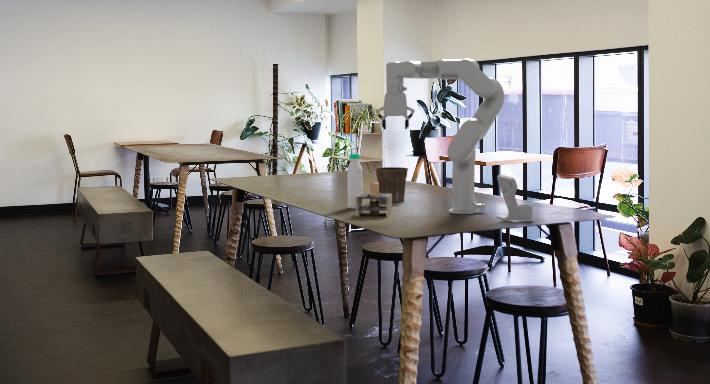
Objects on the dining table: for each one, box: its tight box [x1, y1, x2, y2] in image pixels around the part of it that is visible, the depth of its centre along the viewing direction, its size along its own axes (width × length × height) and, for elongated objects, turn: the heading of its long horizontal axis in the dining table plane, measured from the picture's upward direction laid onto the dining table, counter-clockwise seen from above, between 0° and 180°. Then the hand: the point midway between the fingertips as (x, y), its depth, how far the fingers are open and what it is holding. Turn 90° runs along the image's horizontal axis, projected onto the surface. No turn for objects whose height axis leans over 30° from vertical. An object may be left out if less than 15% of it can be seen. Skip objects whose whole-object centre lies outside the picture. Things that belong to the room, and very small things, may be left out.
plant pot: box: [374, 166, 409, 204], centre depth 406 cm, size 16×16×16 cm
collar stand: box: [355, 193, 393, 218], centre depth 362 cm, size 14×12×8 cm
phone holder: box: [496, 174, 533, 220], centre depth 340 cm, size 17×10×18 cm, turn 11°
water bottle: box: [346, 153, 364, 210], centre depth 385 cm, size 7×7×25 cm
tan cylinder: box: [369, 181, 380, 216], centre depth 362 cm, size 4×4×14 cm
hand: (395, 129), depth 371 cm, fingers open, 9 cm apart
